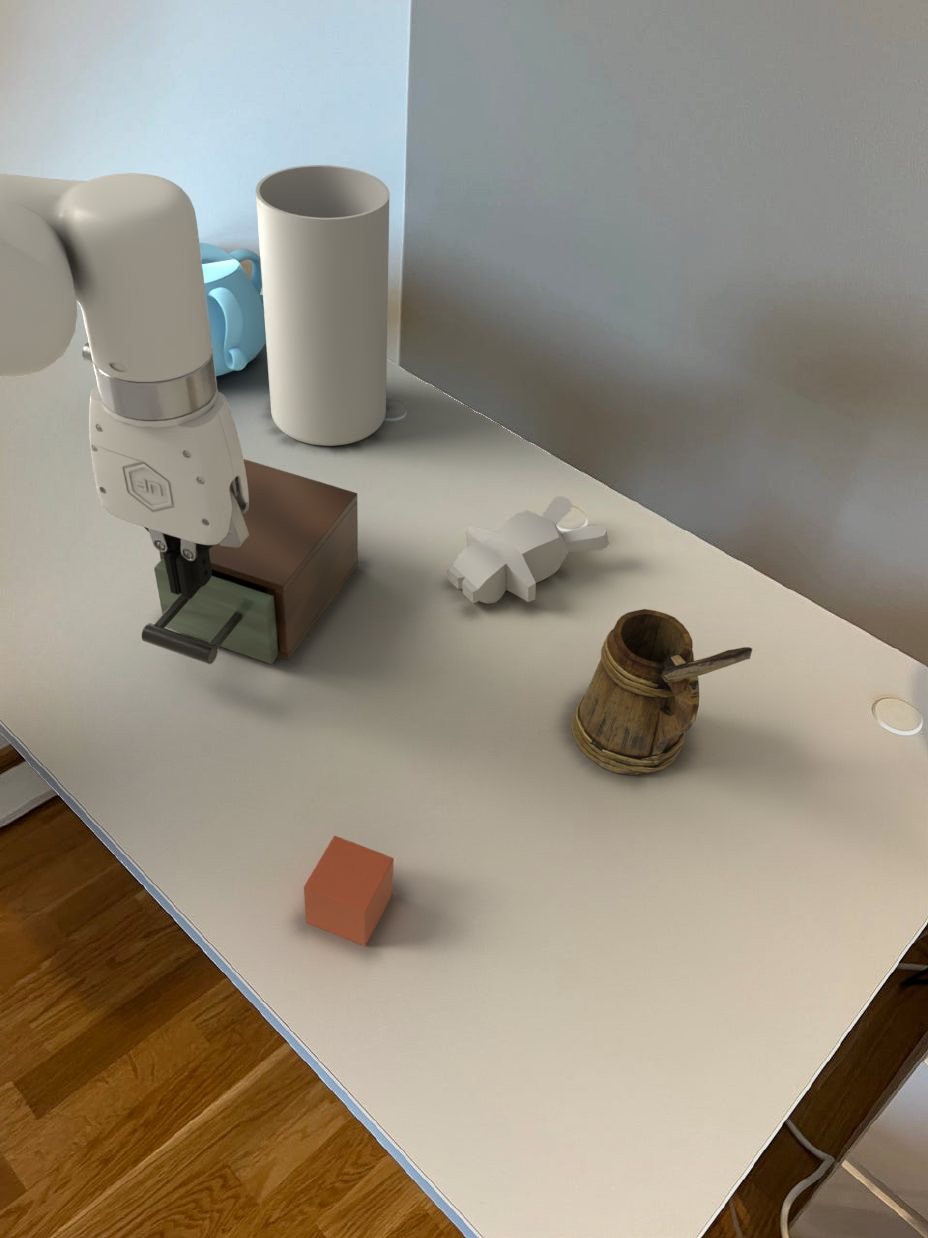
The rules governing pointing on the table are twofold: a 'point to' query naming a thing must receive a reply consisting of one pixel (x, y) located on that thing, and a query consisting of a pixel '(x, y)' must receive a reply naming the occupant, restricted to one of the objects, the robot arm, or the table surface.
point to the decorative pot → (233, 307)
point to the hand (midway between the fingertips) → (191, 584)
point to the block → (349, 890)
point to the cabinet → (294, 547)
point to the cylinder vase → (325, 300)
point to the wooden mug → (643, 693)
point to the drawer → (216, 619)
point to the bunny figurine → (520, 553)
